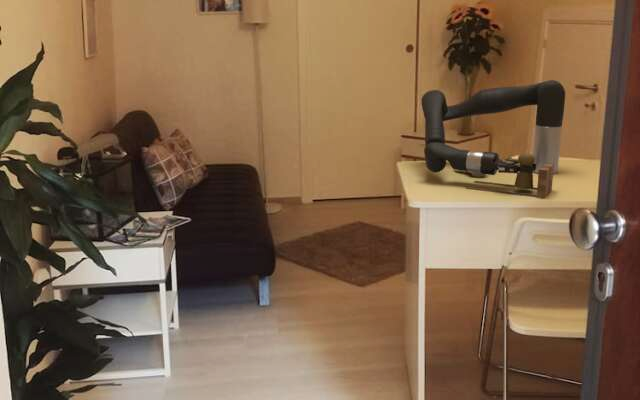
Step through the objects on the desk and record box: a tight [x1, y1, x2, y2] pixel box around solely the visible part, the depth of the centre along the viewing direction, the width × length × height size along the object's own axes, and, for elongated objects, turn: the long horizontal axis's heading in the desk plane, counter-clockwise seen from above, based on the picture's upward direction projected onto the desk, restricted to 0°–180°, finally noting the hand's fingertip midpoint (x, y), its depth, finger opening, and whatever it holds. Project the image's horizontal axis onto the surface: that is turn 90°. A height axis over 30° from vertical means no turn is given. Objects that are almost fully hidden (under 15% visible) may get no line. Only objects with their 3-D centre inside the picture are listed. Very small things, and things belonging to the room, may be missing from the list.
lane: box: [465, 163, 554, 199], centre depth 235 cm, size 12×26×9 cm, turn 62°
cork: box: [513, 153, 535, 190], centre depth 232 cm, size 6×6×11 cm
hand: (534, 168), depth 231 cm, fingers closed on cork, 3 cm apart
